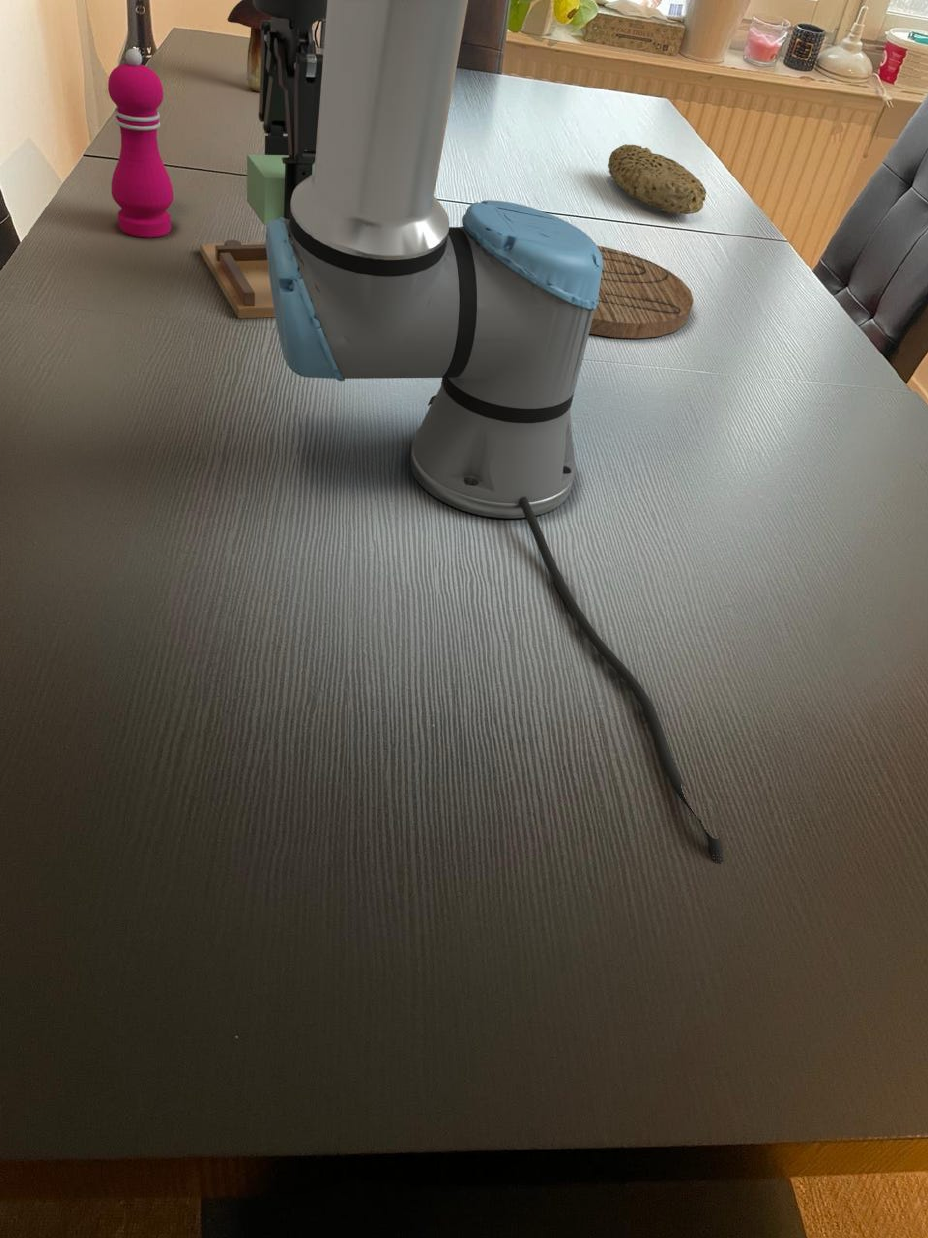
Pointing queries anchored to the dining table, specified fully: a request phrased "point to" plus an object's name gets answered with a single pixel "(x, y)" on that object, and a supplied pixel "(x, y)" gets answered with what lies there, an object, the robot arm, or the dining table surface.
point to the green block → (266, 186)
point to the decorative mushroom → (251, 37)
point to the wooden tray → (242, 276)
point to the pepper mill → (139, 151)
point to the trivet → (638, 298)
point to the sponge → (656, 180)
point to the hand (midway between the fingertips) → (286, 210)
